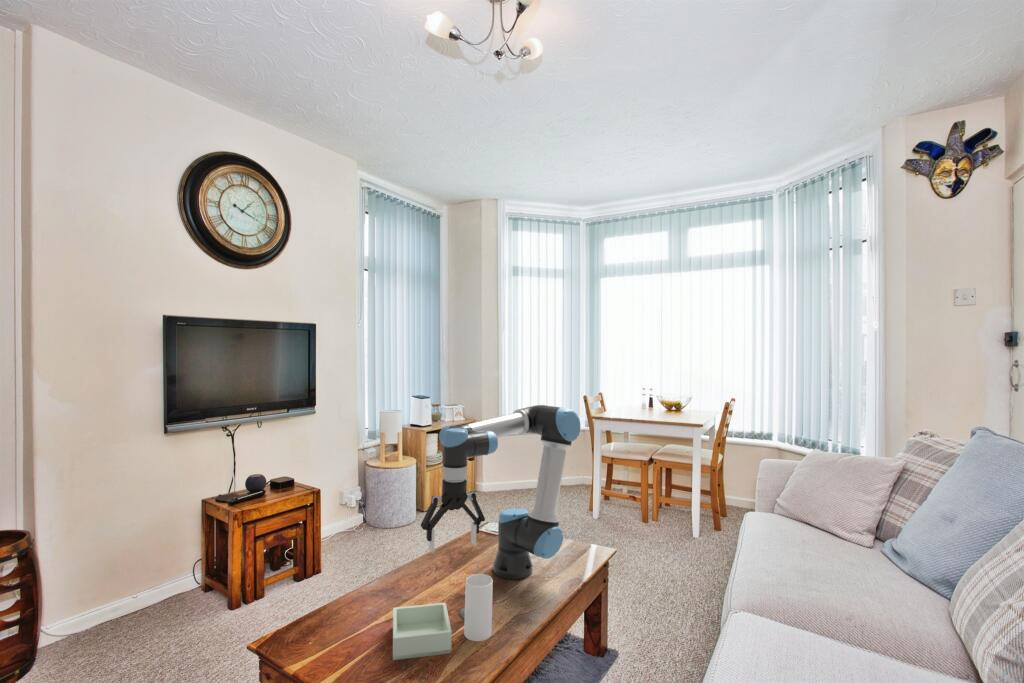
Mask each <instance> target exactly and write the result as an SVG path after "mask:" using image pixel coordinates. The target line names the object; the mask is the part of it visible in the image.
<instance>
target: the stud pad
mask: <svg viewBox="0 0 1024 683" xmlns="http://www.w3.org/2000/svg"><path fill="white" fill-rule="evenodd" d="M459 616H460V618H461V619H463V620H465V606H463V607H462V608H461V609H460V610H459Z"/></svg>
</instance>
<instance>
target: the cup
mask: <svg viewBox="0 0 1024 683" xmlns="http://www.w3.org/2000/svg"><path fill="white" fill-rule="evenodd" d="M493 583H494V580H493V578H492V577H491V576H490V575H488V574H483V573H476V574H472V575H469V576H467V577H466V579H465V587H464V588H465V590H464V592H465V594H464V607H465V619H464V624H463V625H464V629H463V634H464V637H465V638H466V639H468V640H469V641H471V642H483V641H486V640H488V639H489V638H491V636H492V629H493V627H492V625H493V595H494V594H493V592H494V591H493V590H494V588H493V587H494V586H493V585H494V584H493Z"/></svg>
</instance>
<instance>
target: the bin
mask: <svg viewBox="0 0 1024 683" xmlns="http://www.w3.org/2000/svg"><path fill="white" fill-rule="evenodd" d="M447 606H448V605H447V602H439V603H438V602H437V603H428V604H420V605H417V604H416V605H409V606H399V607H398V606H397V607H393V608H392V661H399V660H405V659H415V658H423V657H431V656H438V655H440V656H441V655H447V654H448V655H449V654H452V637H453V636H452V634H453V633H452V626H451V623H450V617H449V612H448V607H447Z"/></svg>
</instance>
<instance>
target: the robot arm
mask: <svg viewBox="0 0 1024 683" xmlns="http://www.w3.org/2000/svg"><path fill="white" fill-rule="evenodd" d="M580 433H581V421H580V417H579V415H578V413H577V412H575V411H574V410H572V409H571V408H570V409H569V408H566V407H562V406H561V407H560V406H552V405H551V406H550V405H545V404H539V405H532V406H527V407H524V408H520V409H519V408H518V409H515V410H514V411H513V412H512V413H509V414H505V415H504V414H503V415H502V416H496V417H491V418H488V419H487V418H486V419H483V420H478V421H475V422H471V423H470V422H469V423H466V424H461V425H453V424H452V425H451V424H450V425H449V424H447V425H445V426H443V427H442V428H441V430H440V431H439V434H438V438H439V440H438V441H439V442H440V444H441V445H442V448H443V449H442V484H441V488H442V489H441V495H440V496H436V495H433V496H431V501H430V505H429V507H428V508H427V510H426V512H425V515H424V517H423V519H422V521H421V522H420V527H421V529H422V530H423V531H425V530H426V535H425V536H426V540H427V542H429V543H428V545H429V546H428V550H429V551H430V553H431V554H434V553H435V532H436V531H435V530H434V528H435V527H436V526H437V524H439V521H440V520H441V519H442V518H443V516H444V515H445V514H446V513H447V512H448V511H455V510H460V509H461V508H462V509H463V511H464V512H466V514H467V515H468V516H469V517H470V519H471V520H472V521H471V522H470V524H471V526H470V527H471V528H470V529H471V530H470V544H471V545H473V546H474V547H475V546H477V534H479V533H480V525H481V523H482V522H485V521H486V518H485V515H484V514H483V511H482V509H481V507H480V505H479V503H478V501H477V494H476V493H475V492H474V491H473V490H472V491H470V492H467V486H468V484H467V483H468V482H467V478H468V459H469V458H474V457H483V456H488V455H490V454H494V453H495V452H496V451H497V450H498V448H499V439H500V438H503V437H507V436H511V435H513V434H514V435H515V434H519V435H524V434H525V435H526V434H533V435H538V436H539V435H540V442H541V443H542V445H543V447H542V454H541V458H540V459H541V460H540V467H539V472H538V478H537V483H536V489H535V490H536V491H535V496H534V497H535V498H534V501H533V502H534V503H533V509H532V511H529V510H528V509H526V508H522V507H518V508H517V507H514V508H508V509H505V510H503V511H501V512H500V513H499V515H498V524H497V526H498V530H497V532H498V533H497V534H498V536H497V538H498V540H497V545H498V547H497V551H496V554H495V557H494V561H493V565H492V567H493V568H492V571H493V573H494V574H495V575H496V576H498V577H499V578H502V579H507V580H519V579H520V580H522V579H525V578H528V577H530V576H531V575H532V573H533V563H532V560H531V556H530V555H531V554H532V555H534V556H535V557H537V558H542V559H545V560H546V559H547V560H549V559H551V558H553V557H554V556H555V555H557V553H558V552H559V551H560V549H561V547H562V545H563V541H564V533H563V531H562V530H563V529H561V528H560V527H559V523H560V519H559V518H558V516H557V509H558V504H559V498H560V491H561V485H562V478H563V471H564V467H565V460H566V454H567V450H568V449H569V448H570V447H572V442H574V441H576V440H577V439H578V437H579V435H580ZM467 500H469V501H470V502H471V504H472V506H473V508H474V511H475V513H476V514H477V516H476V515H475V513H473V512H472V511H471V509H470V508H469V506H467V504H466V501H467ZM440 502H441V503H442V504H441V505H440V506H439V509H438V510H437V507H438V505H439V504H440ZM436 510H437V511H436ZM435 511H436V513H435ZM434 513H435V514H434Z"/></svg>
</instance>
